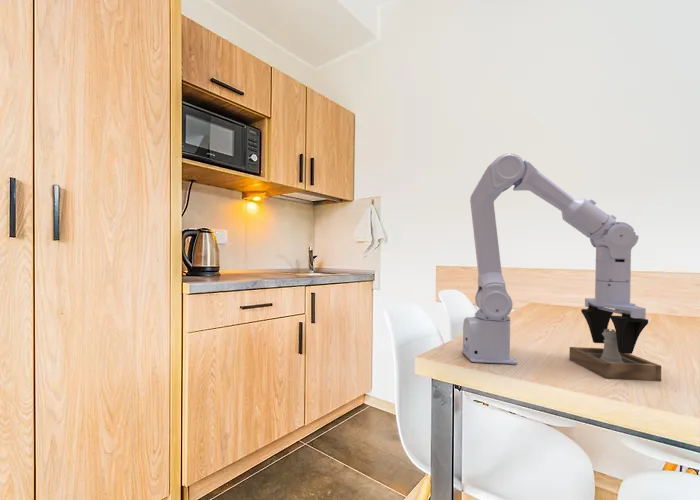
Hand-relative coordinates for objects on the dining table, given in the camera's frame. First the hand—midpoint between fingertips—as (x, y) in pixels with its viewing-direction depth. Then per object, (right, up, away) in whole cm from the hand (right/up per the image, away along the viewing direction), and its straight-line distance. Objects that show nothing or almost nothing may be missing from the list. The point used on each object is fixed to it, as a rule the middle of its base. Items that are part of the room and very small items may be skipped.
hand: (611, 347), depth 69 cm
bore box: (0, -4, 0) cm, 4 cm away
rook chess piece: (0, -5, 0) cm, 5 cm away
